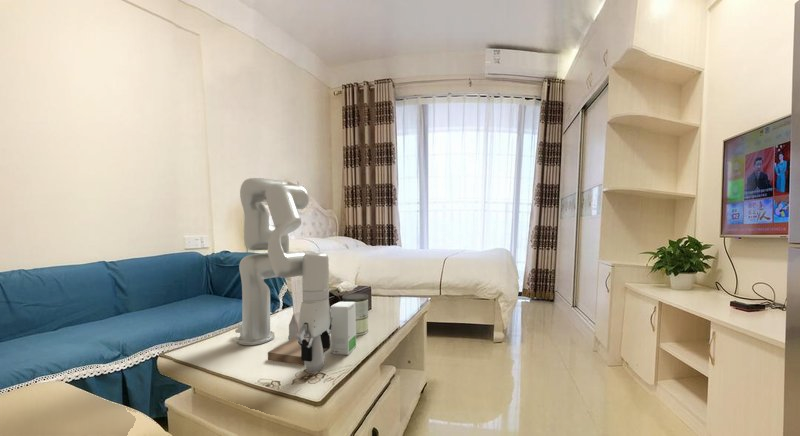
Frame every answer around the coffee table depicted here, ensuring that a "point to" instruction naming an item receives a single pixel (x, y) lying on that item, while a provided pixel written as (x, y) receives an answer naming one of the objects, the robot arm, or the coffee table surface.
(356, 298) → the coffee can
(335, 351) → the skincare box
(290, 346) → the walnut slab
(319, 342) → the salt shaker
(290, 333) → the tea bag
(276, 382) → the coffee table surface
